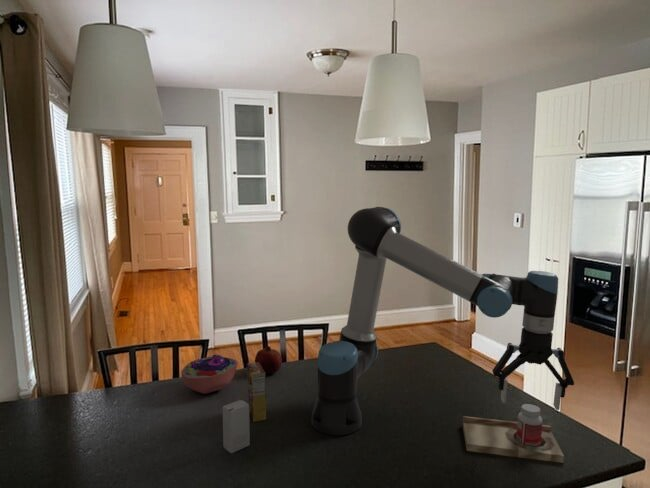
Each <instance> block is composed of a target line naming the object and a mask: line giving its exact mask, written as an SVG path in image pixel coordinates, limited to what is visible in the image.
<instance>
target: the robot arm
mask: <svg viewBox="0 0 650 488" xmlns="http://www.w3.org/2000/svg"><path fill="white" fill-rule="evenodd" d="M401 230H402V223H401V219H400V217H399V216H398V214H397V213H396V212H395V211H394V210H392V209H390V208H387V207H384V206H374V207H370V208H362V209H359V210H357V211H356V212H354V213H353V215H352V216H351V217H350V219H349V221H348V223H347V234H348V238H349V240H351V242H352V243H353V245H355V246H354V247H355V250H356V252H357V253H358V259H357V265H356V270H355V276H354V281H353V288H352V292H351V294H352V295H351V299H350V304H349V310H348V317H347V323H346V325H345V326H343V327H342V328H341V330H340V334H339V340H334V341H331V342H330V341H329V342H327V343H325V344H323V345H322V346H321V347H320V349H319V350H318V355H317V359H316V361H317V362H316V364H317V365H316V366H317V398H316V401H315V403H314V406H313V409H312V411H311V412H312V413H311V422H310V423H311V425H312V427H313V428H314V429H315V430H316V431H318V432H320V433H322V434H325V435H329V436H330V435H331V436H345V435H350V434H353V433H355V432H357V431H358V430H360V428H362V425H363V423H362V422H363V421H362V418H363V415H362V412H361V409H360V406H359V402H358V399H357V398H358V397H357V385H358V382H357V381H358V379H359V378H360V377H361V376H362V375H363V374H364V373H365V372H366V371H367V370H369V369H370V368H371V367H372V366H373V364H374V363H375V362H376V359H377V357H378V354H379V346H378V343H377V340H378V339H377V338H378V335H377V333H376V332H375V331H374V328H375V323H376V317H377V314H378V307H379V301H380V296H381V290H382V285H383V279H384V273H385V269H386V264H387V263H386V262H387V259H388V260H389V261H391V262H393V263H395V264H397V265H399V266H401V267H403V268H405V269H407V270H408V271H410V272H412V273H414V274H416V275H418V276H420V277H422V278H424V279H425V280H428V281H429V282H432V283H433V284H435V285H436V286H439V287H441V288H443V289H444V290H446V291H449V292H450V293H452V294H453V295H456V296H458V297H460V298H461V299H464V300H465V301H468V302H469V303H471V304H473V305H475V306H477V307H478V309H479V311H480V312H481V313H482V314H483V315H484V316H487V317H488V318H494V319H495V318H501V317H502V316H504V315H506V314H507V313H508V311H510V309H511V308H512V306H513V305H514V306H515V305H517V306H523V314H522V315H523V316H522V328H521V335H520V343H519V344H518V345H517V344H513V343H512V342H508V343H507V347H506V350H505V351H504V353H503V354H502V356H501V357H500V359H499V360H498V362H497V363H496V364H495V366H494V367H493V369H492V370H491V371H492V374H493V376H494V377H496V378H498V384H497V387H498V390H499V391H501V393H500V400H501V403H502V404H506V399H507V392H508V391H507V390H508V379H507V377H508V376H510V375H511V374H512V373H513V372H514V371H516V370H517V369H518V368H519V367H521V366H522V365H524V364H525V363H528V364H535V365H536V364H537V365H543V364H545V366H547V368H548V369H549V371H550V372H551V373H552V374H553V376H554V377H555V378H556V380H557V381H558V382H555V385H554V386H555V388H554V389H555V390H554V395H553V396H554V397H553V408H554V409H555V410H556V411H560V408H561V407H560V406H561V398H565V396H566V389H567V388H568V386H574V385H575V381H574V379H573V377H572V374H571V371H570V369H569V368H568V365H567V363H566V362H567V361H566V360H565V352H564V350H563V349H562V348H561V347H557V348H552V344H553V337H554V335H553V334H554V333H553V331H554V324H555V316H556V307H557V301H558V293H559V291H558V289H559V277H558V276H557V274H555V273H553V272H551V271H550V272H548V271H542V270H529V271H528V273H527V275H526V277H518V276H511V275H502V274H496V273H482V274H481V273H479V272H477V271H475V270H473V269H471V268H470V267H467V266H465V265H464V264H461V263H459V262H457V261H456V260H453V259H451V258H449V257H447V256H446V255H443V254H442V253H439V252H437V251H435V250H433V249H431V247H430V248H429V247H428V246H426V245H423V244H422V243H420V242H417V241H415V240H414V239H412V238H409V237H408V236H405V235H403V234H401V233H402V232H401ZM517 351H518V352H519V354H518V355H517V356H516V357H515V359H513V360H512V361H511V362H510V363H509V364H508V365H506V364H507V363H508V362H509V360H510V359H511V358H512V356H513V354H515V353H516V352H517ZM552 355H554V357H555V358H557V361H558V363H559V365H560V368H561V371H562V373H563V375H564V377H565V378H563V377H562V376H561V375H560V373H559V372H558V371H557V369H556V368H555V366H553V364H552V363H551V362H550V360H549V358H550V357H551V356H552Z"/></svg>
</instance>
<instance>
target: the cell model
mask: <svg viewBox="0 0 650 488" xmlns="http://www.w3.org/2000/svg"><path fill="white" fill-rule="evenodd" d="M238 364H239V362H238V361H237V360H236V359H233V358H229V357H226V356H222V355H221V354H213V355H212V356H207V357H203V358H198V359H194V360H192V361H190V362H189V363H187V364H186V365H185V366H184V367H183V368H182V370H181V371H180V373H181V380H182V383H184V385H185V386H187V387H188V388H189V389H191V390H192V391H194V392H198V393H201V394H203V395H204V394H205V395H206V394H211V393H213V392H217V391H222V390H224V389H225V388H227V387H228V385H230V383H231V382H232V380H233V379H234V377H235V375H236V371H237V367H238Z"/></svg>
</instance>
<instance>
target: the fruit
mask: <svg viewBox="0 0 650 488" xmlns="http://www.w3.org/2000/svg"><path fill="white" fill-rule="evenodd" d="M254 362H259V363H260V365H261V366H262V368H263V370H264V372H265V374H272V375H273V374H275V373H276V372H278V371H279V370H281V367H282V364H283V358H282V355H281V353H280V352H279V351H278V350H276V349H275V348H272V347H271V346H270V345H269V346H268V345H266V347H265V348H262V349H260V350H259V351H257V352H256V354H255V359H254Z"/></svg>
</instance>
